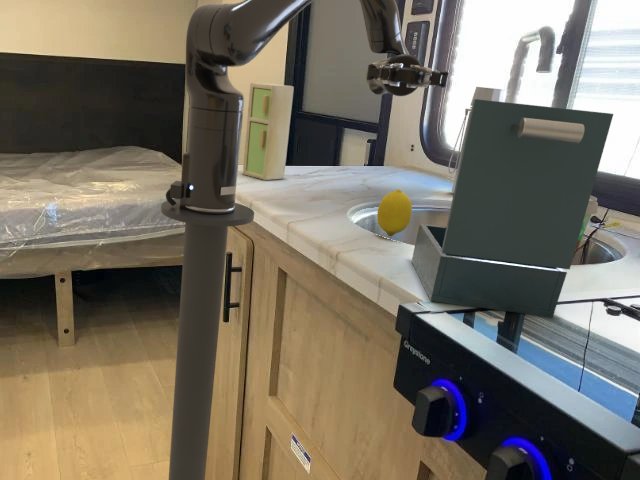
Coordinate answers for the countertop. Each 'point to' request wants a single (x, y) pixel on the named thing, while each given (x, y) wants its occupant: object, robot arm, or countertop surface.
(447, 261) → the freezer
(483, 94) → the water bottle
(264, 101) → the toy refrigerator
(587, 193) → the freezer lid
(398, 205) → the lemon
